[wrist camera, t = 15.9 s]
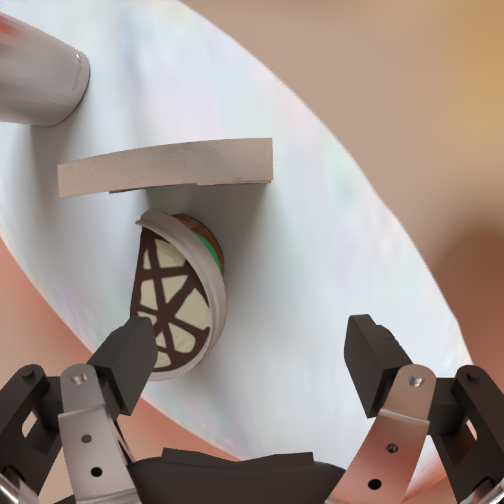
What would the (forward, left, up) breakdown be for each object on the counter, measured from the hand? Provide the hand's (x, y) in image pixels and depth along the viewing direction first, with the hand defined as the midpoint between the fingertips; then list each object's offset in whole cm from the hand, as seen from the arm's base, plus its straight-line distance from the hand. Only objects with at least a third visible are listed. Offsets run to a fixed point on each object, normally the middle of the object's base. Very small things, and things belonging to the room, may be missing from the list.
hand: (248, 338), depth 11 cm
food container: (-5, -2, -15) cm, 16 cm away
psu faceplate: (-4, +7, -14) cm, 17 cm away
